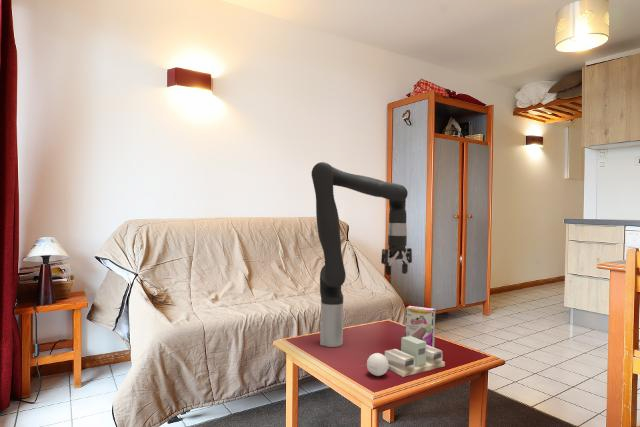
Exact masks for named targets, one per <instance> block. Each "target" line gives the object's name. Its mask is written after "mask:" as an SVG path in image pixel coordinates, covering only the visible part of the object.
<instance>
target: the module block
mask: <svg viewBox="0 0 640 427" xmlns="http://www.w3.org/2000/svg"><path fill="white" fill-rule="evenodd" d="M400 340H401V342H400V343H401V344H400V351H402V352H404V353H406V354H409V355H411V356H413V357H415V366H416V367H418V366H422V365H426V342H425V341H423V340H420V339H417V338H415V337H412V336H407V337H405V336H403V337H401V339H400Z"/></svg>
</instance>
